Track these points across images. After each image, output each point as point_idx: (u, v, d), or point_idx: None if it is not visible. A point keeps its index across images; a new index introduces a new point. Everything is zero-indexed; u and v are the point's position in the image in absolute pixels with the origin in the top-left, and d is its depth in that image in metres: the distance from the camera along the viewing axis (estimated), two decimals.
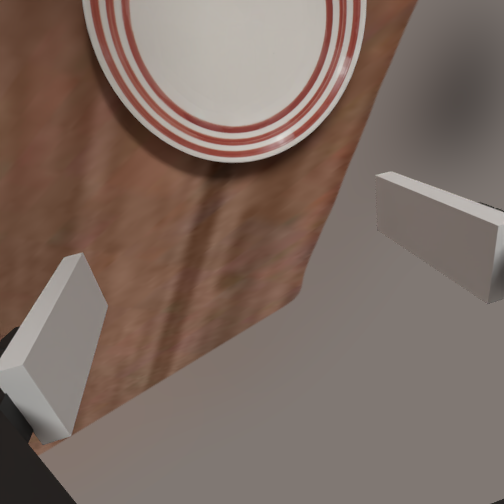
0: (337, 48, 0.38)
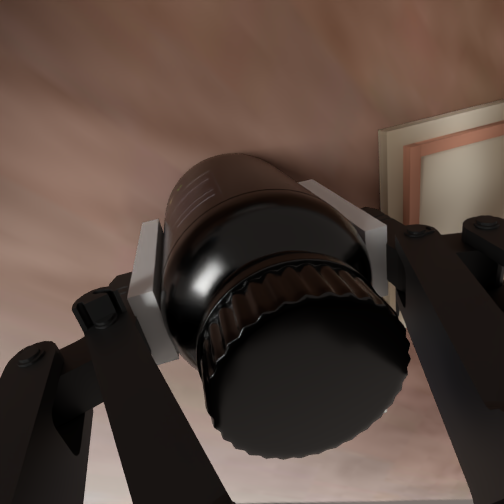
0: None
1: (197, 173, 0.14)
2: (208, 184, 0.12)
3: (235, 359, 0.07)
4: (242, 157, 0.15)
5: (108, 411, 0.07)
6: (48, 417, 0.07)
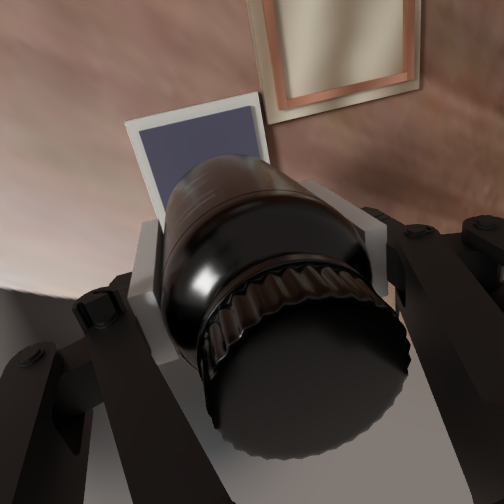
0: None
1: (197, 173, 0.14)
2: (208, 185, 0.12)
3: (235, 360, 0.07)
4: (242, 157, 0.15)
5: (108, 411, 0.07)
6: (47, 417, 0.07)
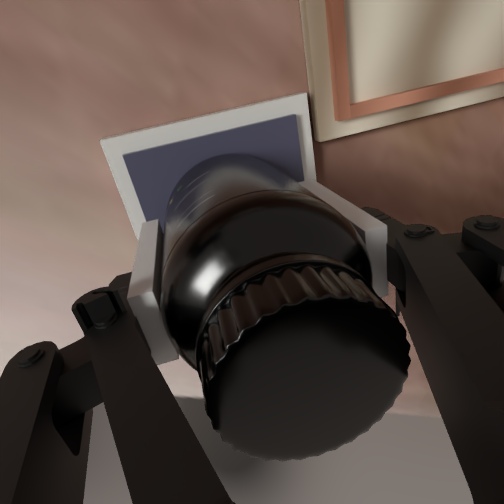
0: None
1: (197, 173, 0.14)
2: (208, 184, 0.12)
3: (234, 361, 0.07)
4: (242, 157, 0.15)
5: (108, 411, 0.07)
6: (47, 417, 0.07)
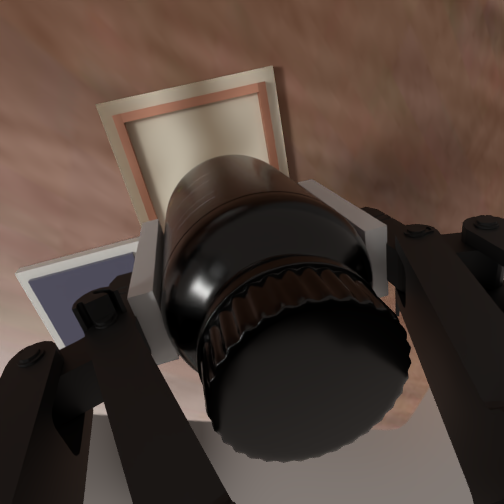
0: None
1: (198, 174, 0.14)
2: (209, 186, 0.12)
3: (235, 363, 0.07)
4: (243, 158, 0.15)
5: (108, 411, 0.07)
6: (48, 417, 0.07)
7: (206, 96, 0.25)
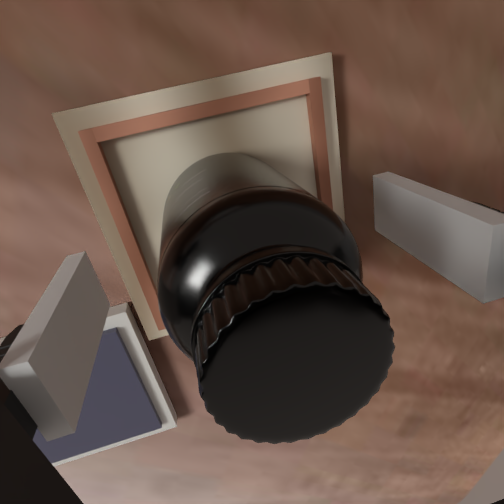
0: None
1: (194, 171, 0.15)
2: (204, 182, 0.12)
3: (226, 345, 0.07)
4: (238, 156, 0.16)
5: None
6: None
7: (229, 100, 0.16)
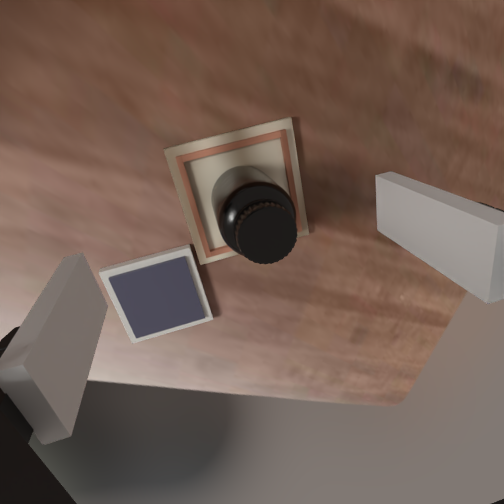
0: None
1: (228, 175, 0.33)
2: (234, 179, 0.31)
3: (245, 224, 0.26)
4: (247, 167, 0.34)
5: None
6: None
7: (243, 141, 0.34)
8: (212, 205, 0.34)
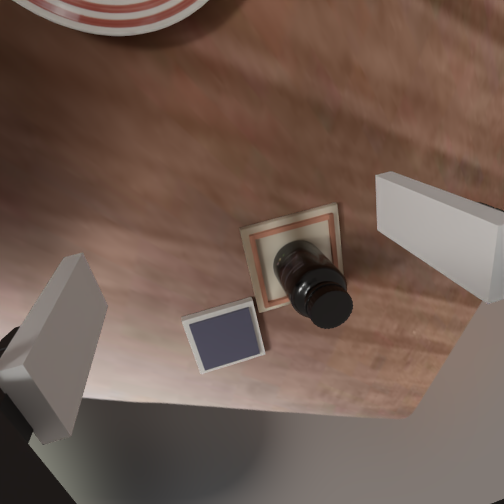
0: None
1: (290, 251, 0.43)
2: (299, 258, 0.41)
3: (317, 303, 0.36)
4: (304, 244, 0.44)
5: None
6: None
7: (300, 223, 0.44)
8: (276, 272, 0.44)
